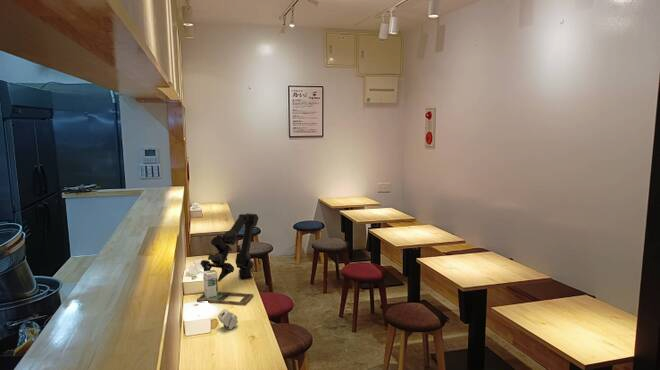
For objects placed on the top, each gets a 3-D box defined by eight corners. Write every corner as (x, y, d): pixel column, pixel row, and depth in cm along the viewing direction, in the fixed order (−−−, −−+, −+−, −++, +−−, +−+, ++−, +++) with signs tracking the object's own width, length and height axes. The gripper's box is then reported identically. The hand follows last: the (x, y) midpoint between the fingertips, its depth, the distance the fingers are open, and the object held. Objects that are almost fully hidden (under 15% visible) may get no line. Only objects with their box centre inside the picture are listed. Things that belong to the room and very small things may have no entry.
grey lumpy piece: (227, 328, 204) (213, 317, 199) (236, 316, 206) (223, 304, 201) (233, 333, 199) (219, 321, 194) (242, 320, 202) (229, 309, 197)
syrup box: (207, 300, 231) (206, 274, 229) (204, 297, 236) (203, 271, 234) (218, 298, 234) (217, 272, 232) (214, 294, 239) (213, 269, 237)
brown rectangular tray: (253, 296, 236) (253, 294, 236) (245, 305, 225) (245, 302, 225) (207, 293, 241) (207, 290, 241) (197, 301, 230) (196, 299, 230)
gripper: (201, 245, 240) (189, 271, 231) (230, 249, 233) (218, 275, 224) (210, 255, 248) (199, 280, 239) (239, 258, 241) (228, 285, 233)
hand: (211, 280), depth 234 cm, fingers open, 9 cm apart
